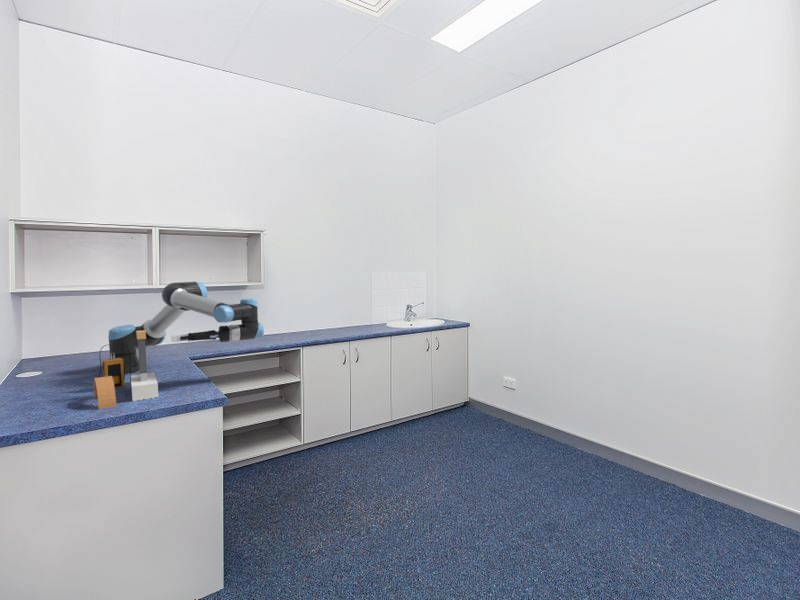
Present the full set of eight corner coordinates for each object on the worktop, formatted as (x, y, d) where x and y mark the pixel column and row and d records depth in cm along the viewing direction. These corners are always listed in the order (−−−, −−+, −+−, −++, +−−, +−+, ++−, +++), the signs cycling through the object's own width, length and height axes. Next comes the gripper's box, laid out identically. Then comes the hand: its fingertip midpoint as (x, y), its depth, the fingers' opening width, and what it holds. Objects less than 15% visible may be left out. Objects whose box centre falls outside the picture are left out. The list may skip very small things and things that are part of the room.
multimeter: (125, 381, 202) (123, 339, 200) (133, 385, 196) (131, 341, 194) (88, 388, 191) (85, 344, 189) (95, 392, 184) (92, 346, 183)
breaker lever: (139, 377, 183) (136, 330, 182) (147, 376, 185) (145, 330, 184) (139, 379, 179) (136, 332, 178) (148, 378, 181) (145, 331, 180)
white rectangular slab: (131, 388, 190) (130, 368, 189) (155, 385, 194) (153, 366, 194) (132, 401, 171) (131, 379, 170) (158, 397, 176) (157, 375, 175)
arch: (111, 395, 181) (109, 371, 180) (116, 406, 165) (114, 381, 165) (94, 397, 177) (92, 374, 177) (98, 409, 162) (96, 383, 161)
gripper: (232, 343, 194) (173, 349, 181) (226, 339, 205) (170, 345, 192) (231, 326, 194) (172, 331, 181) (225, 324, 205) (169, 328, 192)
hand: (171, 338), depth 187 cm, fingers closed
